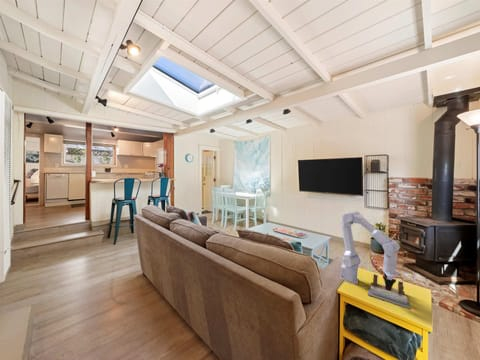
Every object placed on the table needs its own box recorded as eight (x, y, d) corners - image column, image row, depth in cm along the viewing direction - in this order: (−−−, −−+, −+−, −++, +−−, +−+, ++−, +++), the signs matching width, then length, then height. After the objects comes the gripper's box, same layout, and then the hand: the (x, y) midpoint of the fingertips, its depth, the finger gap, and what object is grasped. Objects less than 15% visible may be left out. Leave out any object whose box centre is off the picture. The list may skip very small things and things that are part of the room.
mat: (367, 295, 112) (367, 294, 112) (368, 288, 119) (368, 287, 119) (409, 309, 102) (409, 308, 102) (407, 300, 108) (407, 300, 108)
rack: (370, 287, 119) (371, 277, 119) (371, 283, 124) (371, 273, 124) (405, 298, 110) (406, 287, 110) (404, 293, 115) (405, 282, 114)
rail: (370, 292, 113) (370, 287, 113) (370, 290, 116) (370, 285, 116) (406, 304, 104) (407, 299, 104) (406, 301, 107) (406, 296, 106)
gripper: (400, 270, 101) (398, 296, 102) (398, 260, 113) (396, 283, 113) (383, 266, 105) (381, 290, 106) (383, 256, 117) (381, 279, 117)
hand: (388, 286), depth 110 cm, fingers open, 7 cm apart
